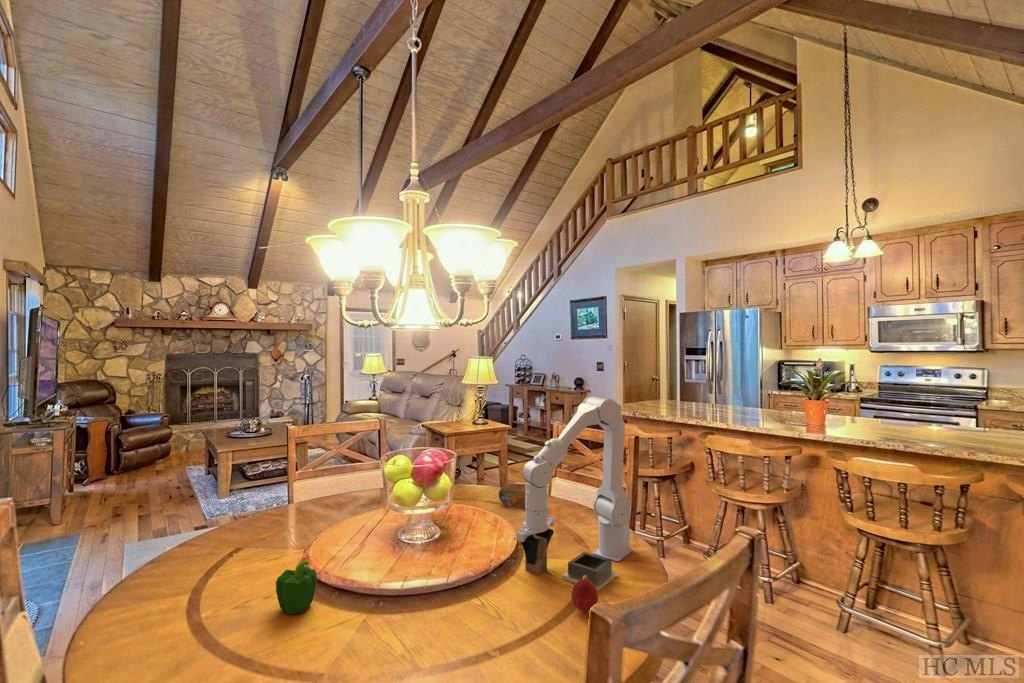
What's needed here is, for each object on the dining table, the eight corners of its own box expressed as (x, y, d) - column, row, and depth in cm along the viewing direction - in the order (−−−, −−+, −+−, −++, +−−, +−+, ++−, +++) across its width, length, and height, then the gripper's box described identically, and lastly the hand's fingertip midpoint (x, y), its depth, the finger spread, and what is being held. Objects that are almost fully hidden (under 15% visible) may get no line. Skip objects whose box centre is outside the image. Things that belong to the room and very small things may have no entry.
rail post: (534, 564, 131) (534, 534, 131) (546, 569, 129) (546, 538, 129) (525, 570, 128) (525, 539, 128) (538, 574, 126) (538, 543, 126)
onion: (597, 621, 105) (597, 583, 105) (570, 618, 106) (570, 581, 106) (598, 607, 111) (598, 571, 111) (572, 604, 112) (572, 568, 112)
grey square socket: (582, 564, 132) (582, 549, 132) (617, 575, 125) (617, 559, 125) (562, 578, 124) (562, 562, 124) (598, 591, 118) (598, 574, 118)
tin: (498, 506, 178) (498, 483, 178) (500, 503, 181) (500, 480, 181) (540, 508, 175) (540, 485, 175) (541, 505, 178) (541, 482, 178)
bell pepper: (276, 623, 104) (276, 575, 104) (275, 604, 111) (275, 560, 111) (319, 613, 108) (319, 567, 108) (315, 595, 115) (315, 553, 115)
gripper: (539, 498, 137) (539, 547, 137) (506, 512, 125) (506, 566, 125) (561, 503, 132) (561, 554, 132) (529, 518, 121) (529, 574, 121)
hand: (536, 560), depth 129 cm, fingers closed on rail post, 4 cm apart
